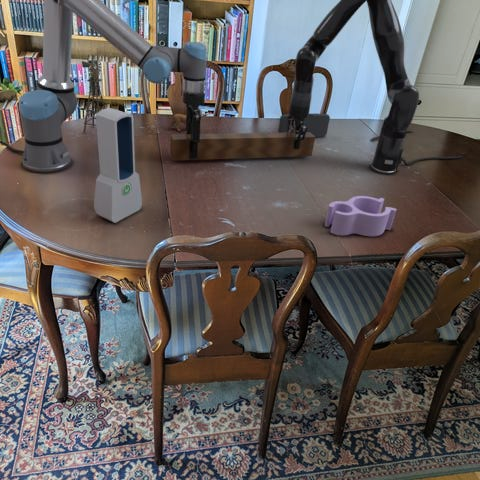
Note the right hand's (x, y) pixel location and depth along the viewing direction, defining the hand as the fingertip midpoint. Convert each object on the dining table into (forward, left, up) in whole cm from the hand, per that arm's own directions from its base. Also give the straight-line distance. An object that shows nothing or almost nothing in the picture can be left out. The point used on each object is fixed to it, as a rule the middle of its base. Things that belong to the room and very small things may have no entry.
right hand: (293, 145), depth 182 cm
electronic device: (+75, +19, -5) cm, 78 cm away
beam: (+20, -4, -3) cm, 20 cm away
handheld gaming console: (-18, -18, -5) cm, 26 cm away
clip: (+11, +51, -5) cm, 53 cm away
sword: (-62, -7, -5) cm, 62 cm away
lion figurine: (+29, -40, -5) cm, 49 cm away
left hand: (+39, -9, -2) cm, 40 cm away
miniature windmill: (+64, -47, -5) cm, 79 cm away
